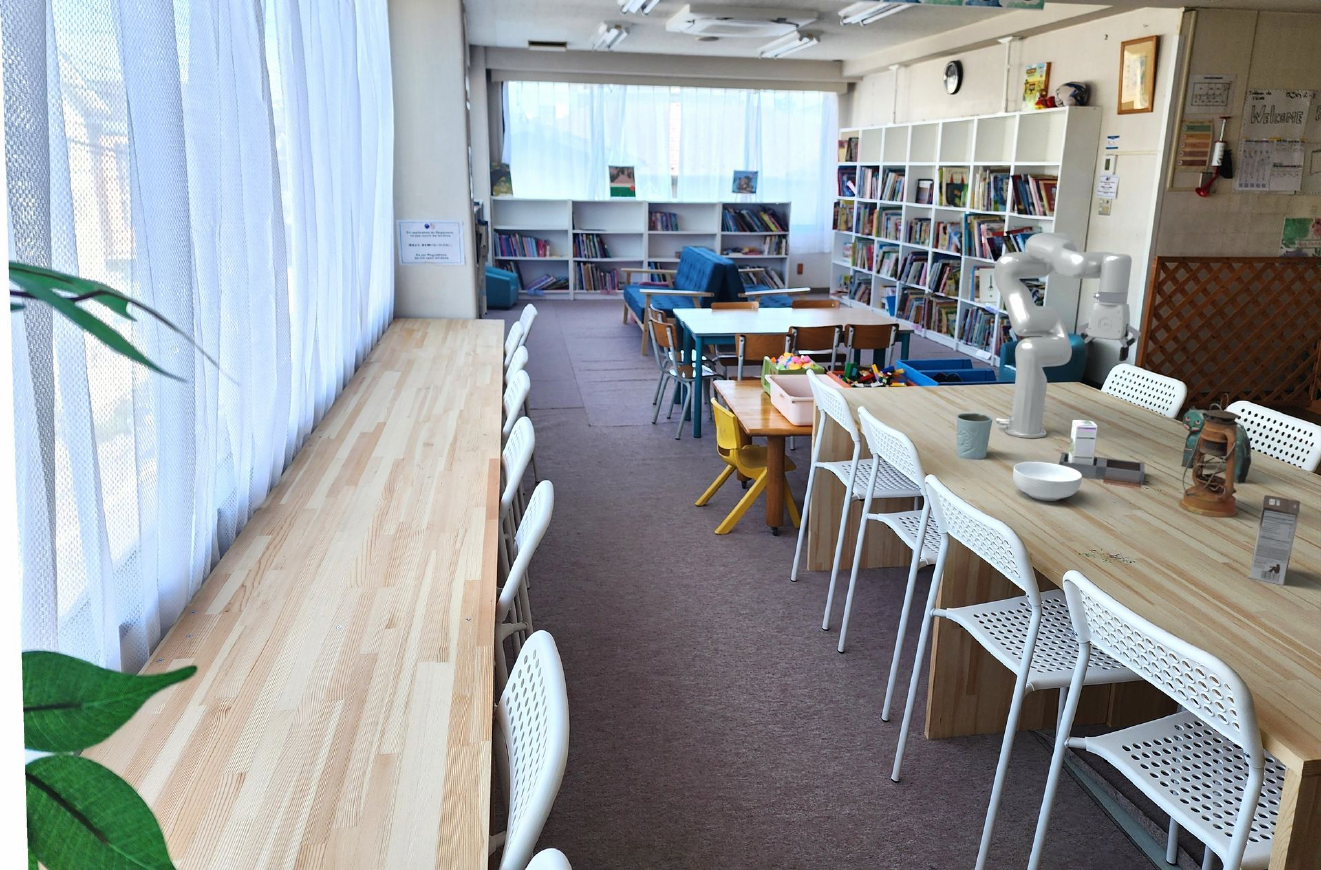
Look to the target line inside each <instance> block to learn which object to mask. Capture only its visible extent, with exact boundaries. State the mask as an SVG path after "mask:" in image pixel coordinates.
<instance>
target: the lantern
mask: <svg viewBox="0 0 1321 870" xmlns="http://www.w3.org/2000/svg"><path fill="white" fill-rule="evenodd" d="M1225 395H1226V397H1227V399H1229V396H1228V395H1229V394H1228V393H1223V395H1222V397H1221V401H1220V404H1219V405H1220V408H1219V409H1209V410H1206V412H1205V413H1206V414H1207V415H1208V419H1206V420H1205V425H1204V427H1203V429H1202V431H1201V433H1200V435H1199V437H1198V440H1197V442H1196V446H1195V449H1194V451H1193V454H1192V456H1191V458H1190V460H1189V462H1188V464H1187V466H1186V467H1185V469H1184V471H1183V475H1182V488H1183V491H1184V492H1183V498H1182V499H1180V501H1179V503H1178V506H1179V507H1180V508H1181V509H1183V510H1185V511H1186V512H1190V513H1193V514H1196V515H1200V516H1206V517H1213V518H1215V517H1216V518H1231V517H1235V516H1236V515H1238V511H1237V508H1236V507H1235V505H1236V497H1235V496H1234V495H1233V494H1236V493H1237V491H1238V490H1237V489H1236V488H1234V486H1235V482H1234V475H1235V466H1236V464H1235V458H1236V442H1237V441H1238V439H1237V438H1236V434H1237V429H1236V428H1237V425H1238V424H1237V422H1238V421H1236V419H1239V418H1240V415H1238V414H1237V413H1235V412H1231V411H1227V409H1228V405H1229V400H1226V401H1227V402H1226V406H1225V410H1223V409H1222V404H1223V399H1224V396H1225ZM1235 421H1236V422H1235ZM1197 446H1198V451H1197V455H1196V456H1195V458H1194V459H1193V464H1194V465H1193V466H1194V467H1193V468H1191V469H1192V474H1191V476H1192V481H1193V484H1194V486H1191V487H1188V488H1185V476H1186V473H1187V470H1188V469H1189V468H1188V466H1189V464H1190V462H1191V460H1192V458H1193V457H1194V454H1195V451H1196V449H1197ZM1206 455H1208V456H1212V457H1211V458H1210V459H1208V460H1205V457H1206ZM1216 458H1218V459H1219V460H1221V461H1219V460H1218V461H1217V460H1216V461H1215V459H1216ZM1212 460H1214V461H1212ZM1194 461H1195V462H1194ZM1216 464H1218V465H1217V467H1216V468H1215V470H1214V472H1210V473H1204V469H1205V470H1206V469H1207V465H1216ZM1222 464H1225V469H1224V470H1220V471H1218V469H1219V467H1220V466H1221V465H1222ZM1224 472H1225V478H1224V477H1222V476H1218V474H1221V473H1224Z"/></svg>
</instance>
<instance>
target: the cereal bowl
mask: <svg viewBox="0 0 1321 870" xmlns="http://www.w3.org/2000/svg"><path fill="white" fill-rule="evenodd" d="M1082 478H1083V477H1082V475H1081V473H1080V472H1078V471H1077V470H1075V469H1072V468H1069V467H1066V466H1062V465H1059V463H1058V464H1057V463H1050V462H1045V461H1044V462H1043V461H1042V462H1041V461H1022V462H1019V463H1016V464H1014V466H1013V471H1012V480H1013V482H1014V484H1015V485H1016V487H1017V488H1018V489H1019V490H1021V491H1022V492H1024V493H1025V494H1027V495H1028V497H1030V498H1033V499H1036V500H1040V501H1045V502H1047V501H1050V502H1051V501H1052V502H1053V501H1054V502H1055V501H1058V500H1060V499H1065V498H1068V497H1070V496H1073V495H1074V494H1076V493H1077V492H1078V491H1079V489H1080V486H1081V484H1082Z"/></svg>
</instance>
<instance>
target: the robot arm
mask: <svg viewBox="0 0 1321 870" xmlns="http://www.w3.org/2000/svg"><path fill="white" fill-rule="evenodd" d="M1132 261H1133V260H1132V256H1131V255H1129V254H1125V253H1113V252H1110V251H1084V252H1083V251H1081V252H1079V251H1078V248H1077V245H1076V244H1075V243H1074V240H1073V238H1072V236H1071V235H1069V234H1067V233H1066V232H1039V233H1034V234H1033V235H1031V236H1030V237H1028V239H1027V240H1026V242H1025V244H1024V251H1014V252H1008V253H1005V254H1003V255H1001V256H1000V257H999V258H998V259H997V260H996V263H995V264H994V271H993V276H994V282H995V285H996V287H997V289H998V291H999V294H1000V295H1001V297H1002V299H1003V303H1004V305H1005V309H1006V312H1007V316H1008V318H1009V322H1010V326H1011V328H1012V330H1013V333H1015V335H1016V336H1019V337H1025V338H1023V339H1021V340H1020V341H1018V343H1017V345H1016V347H1015V352H1014V357H1015V358H1014V359H1015V381H1014V391H1013V399H1012V408H1011V416H1010V417H1007V418H1003V417H1002V418H1001V417H997V418H996V424H998V425H999V426H1005V428H1004V432H1005V433H1006V434H1008V435H1010V436H1013V437H1017V438H1018V437H1019V438H1025V439H1041V438H1044V437H1046V436H1047V431H1046V430H1045V428H1043V419H1044V410H1045V403H1046V393H1047V388H1048V387H1047V385H1048V379H1047V376H1046V374H1045V371H1044V369H1043V368H1045V367H1046V368H1047V367H1058V366H1063V365H1065V364H1067V363H1069V361H1071V358H1072V352H1073V351H1072V344H1071V339H1070V337H1069V334H1068V332H1067V328H1066V325H1065V323H1064V318H1063V316H1062V314H1061V313H1060V311H1059V310H1058V309H1057V308H1055V307H1053V306H1049V305H1036V303H1035V301H1034V299H1033V296H1032V293H1031V291H1030V290H1029V288H1028V287H1027V285H1025V284H1024V283H1023V282H1022V281H1021V280H1022V279H1041V278H1045V277H1047V276H1049V275H1050V274H1052V273H1053V272H1054V271H1055V272H1056V273H1057V274H1059V275H1062V276H1064V277H1068V278H1070V279H1071V278H1072V279H1074V280H1075V279H1076V280H1082V279H1083V280H1085V279H1089V280H1091V279H1099V285H1098V291H1097V292H1096V293H1095V292H1094V294H1093V296H1092V297H1093V298H1094V299H1096V301H1097V302H1093V306H1092V308H1091V312H1090V315H1089V321H1088V322H1087V323H1085V324H1082V325H1080V326H1078V328H1077V329H1078V332H1079V334H1080V337H1081V338H1082V340H1083V342H1084V343H1085V347H1084V354H1085V357H1086V358H1089V357H1093V356H1094V355H1093V354H1094V348H1095V342H1094V341H1095V339H1100V340H1101V339H1102V340H1111V341H1119V342H1120V344H1121V345H1122V346H1121V347H1120V348H1119V358H1118V361H1119V362H1125V361H1127V359H1128V357H1129V352H1130V347H1131V346H1132V345H1133V344H1135V343H1136V342H1137V340H1138V339H1139V337H1141V334H1142V332H1141V331H1139V330H1137V329H1136V328H1135V327H1133V326H1132V325H1130V324H1131V315H1130V314H1131V312H1130V311H1131V310H1130V304H1129V303H1128V297H1129V288H1130V287H1129V286H1130V278H1131V271H1132V270H1131V269H1132ZM1020 279H1021V280H1020ZM1086 329H1087V332H1086ZM1129 333H1130V334H1131V335H1132V337H1131V338H1128V337H1129V335H1130V334H1129Z"/></svg>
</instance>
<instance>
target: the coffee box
mask: <svg viewBox="0 0 1321 870" xmlns="http://www.w3.org/2000/svg"><path fill="white" fill-rule="evenodd" d="M1300 505H1301V504H1300V500H1295V499H1290V498H1285V497H1281V496H1275V495H1274V496H1273V495H1269V494H1265V495H1264V499H1263V503H1262V507H1261V512H1260V517H1259V523H1258V525H1257V527H1258V528H1257V532H1256V537H1255V543H1254V548H1253V553H1252V554H1253V555H1252V559H1251V561H1252V562H1251V568H1250V574H1249V578H1250V579H1252V580H1258V581H1260V582H1261V581H1262V582H1267V583H1271V584H1276V585H1281V586H1284V585H1285V582H1286V577H1287V573H1288V568H1289V564H1290V559H1291V553H1292V549H1293V544H1294V540H1295V535H1296V530H1297V525H1298V521H1299V515H1300Z"/></svg>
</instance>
